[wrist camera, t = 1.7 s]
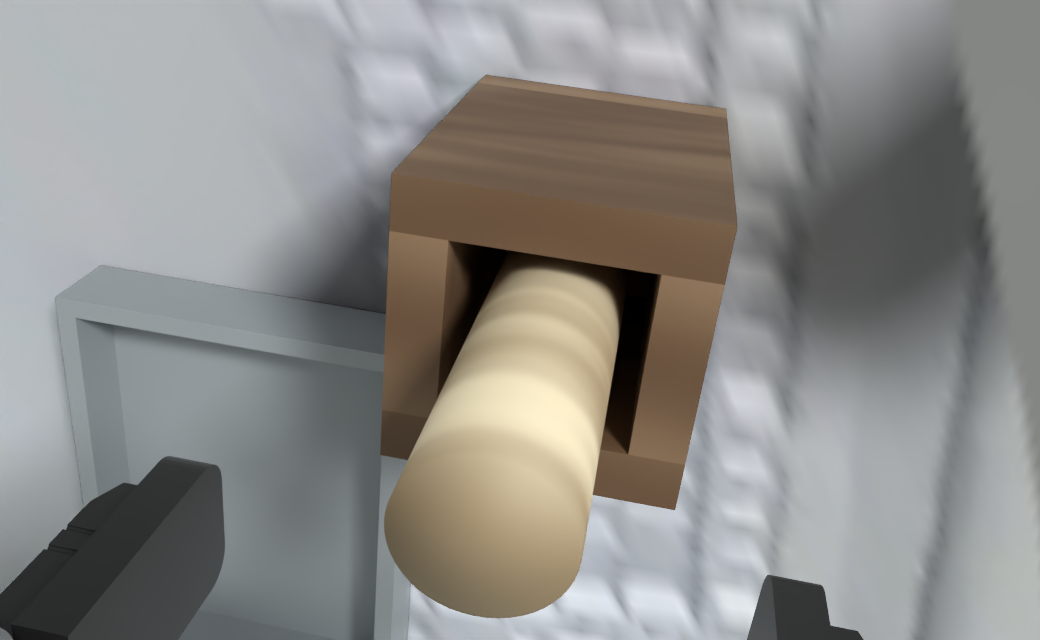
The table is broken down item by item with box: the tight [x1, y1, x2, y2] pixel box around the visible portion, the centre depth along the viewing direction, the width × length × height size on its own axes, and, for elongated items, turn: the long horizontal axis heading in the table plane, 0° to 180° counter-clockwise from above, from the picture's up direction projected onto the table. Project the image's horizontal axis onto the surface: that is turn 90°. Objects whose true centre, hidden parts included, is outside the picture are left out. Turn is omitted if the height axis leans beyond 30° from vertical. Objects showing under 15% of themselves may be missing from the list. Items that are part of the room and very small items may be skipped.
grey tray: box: [55, 266, 411, 640], centre depth 33 cm, size 14×11×2 cm
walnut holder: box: [380, 75, 737, 510], centre depth 23 cm, size 7×7×9 cm
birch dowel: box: [384, 250, 630, 618], centre depth 20 cm, size 3×3×14 cm
